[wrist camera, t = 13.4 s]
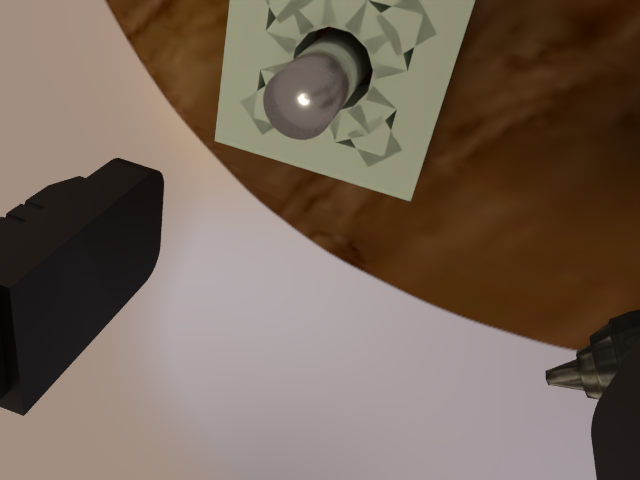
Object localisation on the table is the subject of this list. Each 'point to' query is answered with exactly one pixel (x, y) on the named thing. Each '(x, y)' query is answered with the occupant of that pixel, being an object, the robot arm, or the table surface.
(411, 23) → the pale green flat block
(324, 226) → the table surface
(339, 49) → the cylinder
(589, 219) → the table surface
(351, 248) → the table surface
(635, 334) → the cordless drill
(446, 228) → the table surface
